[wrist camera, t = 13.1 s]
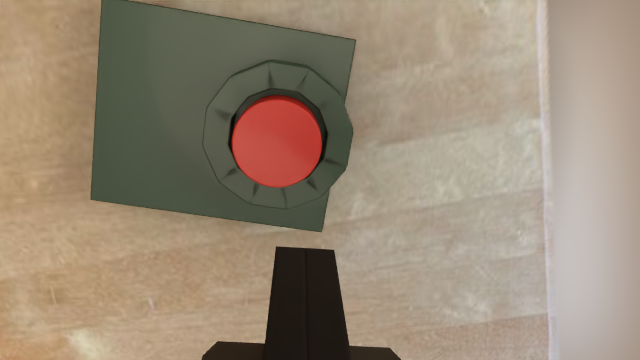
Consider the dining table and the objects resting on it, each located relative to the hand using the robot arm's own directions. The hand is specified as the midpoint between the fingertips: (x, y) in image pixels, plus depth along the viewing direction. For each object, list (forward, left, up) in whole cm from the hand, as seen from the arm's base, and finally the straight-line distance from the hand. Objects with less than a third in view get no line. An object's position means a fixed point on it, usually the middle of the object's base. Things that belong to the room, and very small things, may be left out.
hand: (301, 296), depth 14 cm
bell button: (+1, -2, -12) cm, 13 cm away
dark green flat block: (+4, -2, -16) cm, 17 cm away
